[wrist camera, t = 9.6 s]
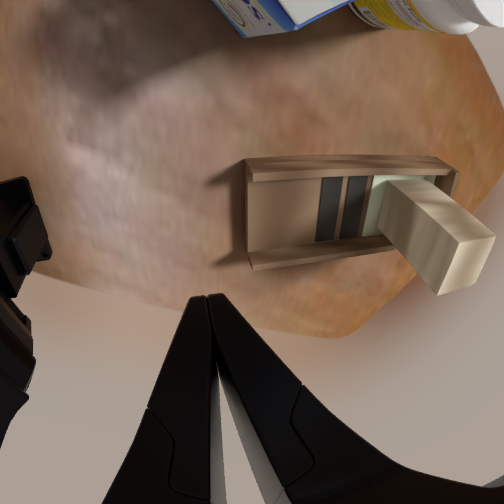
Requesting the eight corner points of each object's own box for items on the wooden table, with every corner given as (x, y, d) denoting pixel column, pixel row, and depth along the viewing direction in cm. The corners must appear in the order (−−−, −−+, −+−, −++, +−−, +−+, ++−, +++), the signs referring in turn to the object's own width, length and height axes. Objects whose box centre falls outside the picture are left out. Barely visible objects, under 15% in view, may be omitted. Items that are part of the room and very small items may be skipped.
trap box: (245, 249, 24) (254, 275, 21) (244, 158, 19) (254, 177, 17) (417, 228, 26) (436, 247, 24) (436, 157, 22) (460, 172, 20)
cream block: (377, 227, 24) (436, 295, 17) (387, 180, 21) (459, 242, 15) (414, 222, 24) (474, 284, 18) (426, 179, 22) (496, 236, 16)
